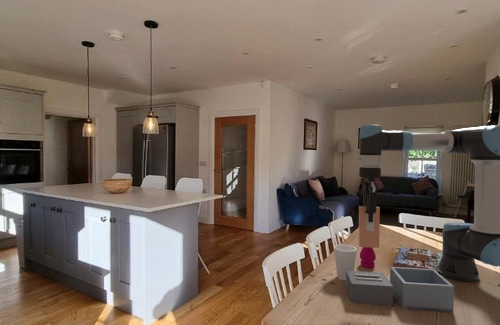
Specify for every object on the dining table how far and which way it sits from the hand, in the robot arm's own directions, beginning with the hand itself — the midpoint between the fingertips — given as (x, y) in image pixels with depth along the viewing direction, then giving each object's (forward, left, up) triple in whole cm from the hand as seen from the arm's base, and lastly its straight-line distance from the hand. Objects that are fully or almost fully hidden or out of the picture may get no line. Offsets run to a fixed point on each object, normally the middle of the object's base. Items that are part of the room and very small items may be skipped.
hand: (369, 229), depth 112 cm
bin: (-18, 0, -25) cm, 31 cm away
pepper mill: (-7, -32, -26) cm, 42 cm away
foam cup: (+6, -16, -26) cm, 31 cm away
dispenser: (0, 0, -25) cm, 25 cm away
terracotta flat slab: (0, 0, -6) cm, 6 cm away
